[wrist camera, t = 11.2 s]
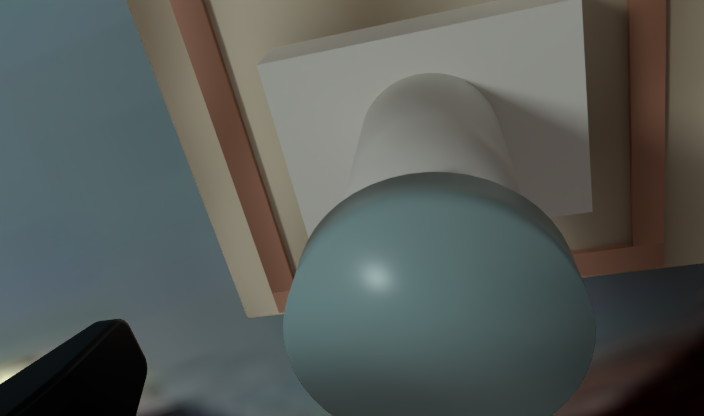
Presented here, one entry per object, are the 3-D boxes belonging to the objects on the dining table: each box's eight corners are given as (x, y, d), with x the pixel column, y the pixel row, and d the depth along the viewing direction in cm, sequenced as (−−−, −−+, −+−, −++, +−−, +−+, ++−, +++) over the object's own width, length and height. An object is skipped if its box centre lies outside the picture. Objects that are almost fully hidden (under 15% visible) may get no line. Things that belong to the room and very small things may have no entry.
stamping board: (1467, -438, 10) (1583, -473, 9) (1189, 181, 16) (1244, 203, 15) (117, -74, 15) (95, -71, 14) (255, 299, 21) (246, 321, 20)
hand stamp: (559, -19, 14) (741, 116, 6) (572, 172, 16) (717, 457, 8) (277, 42, 15) (118, 217, 7) (324, 210, 18) (242, 486, 10)
